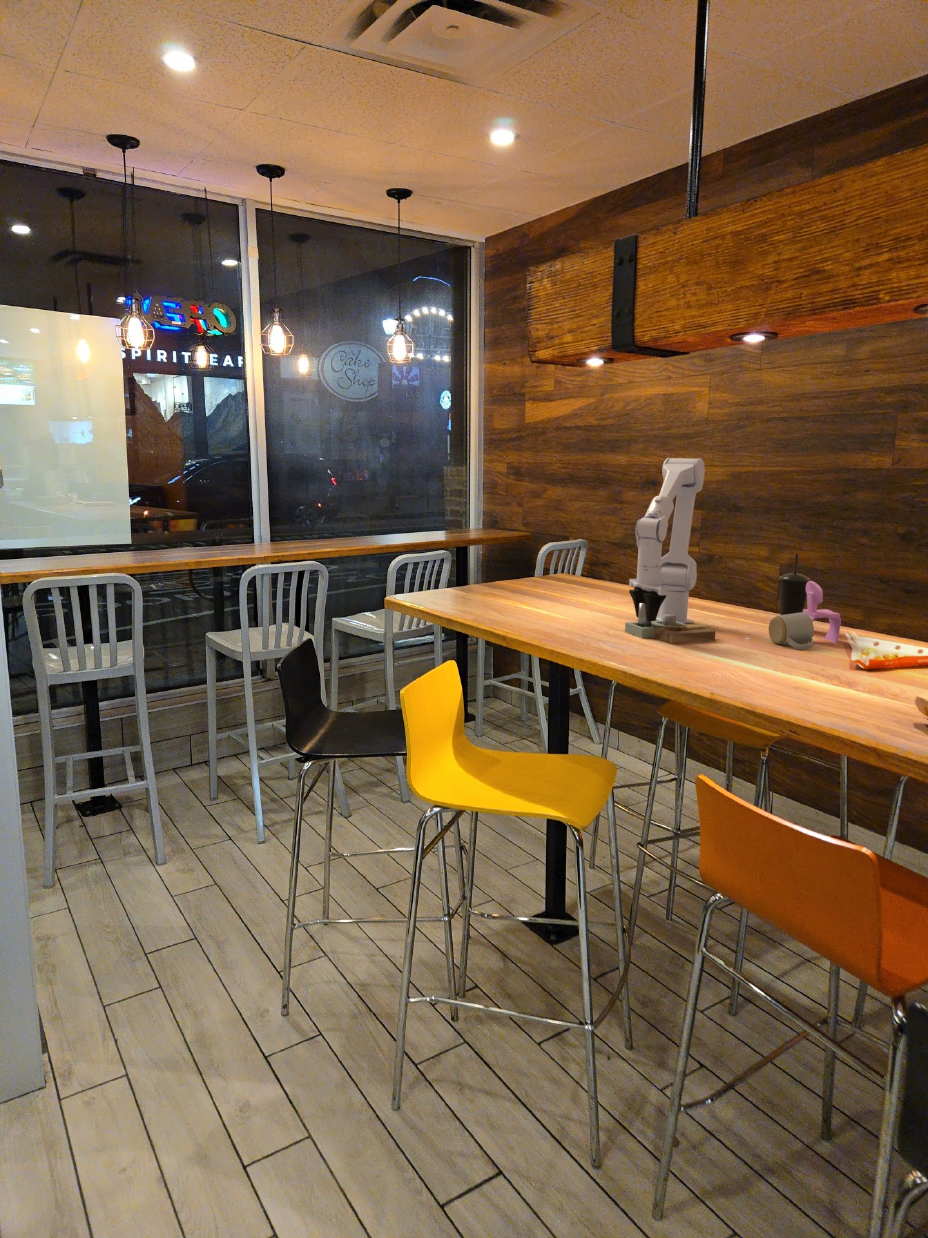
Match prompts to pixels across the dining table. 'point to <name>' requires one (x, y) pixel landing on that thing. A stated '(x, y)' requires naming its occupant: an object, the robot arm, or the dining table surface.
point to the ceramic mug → (792, 630)
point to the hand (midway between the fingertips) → (645, 619)
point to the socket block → (683, 634)
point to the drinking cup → (792, 591)
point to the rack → (649, 631)
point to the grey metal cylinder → (643, 616)
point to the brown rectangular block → (695, 627)
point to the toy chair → (821, 611)
